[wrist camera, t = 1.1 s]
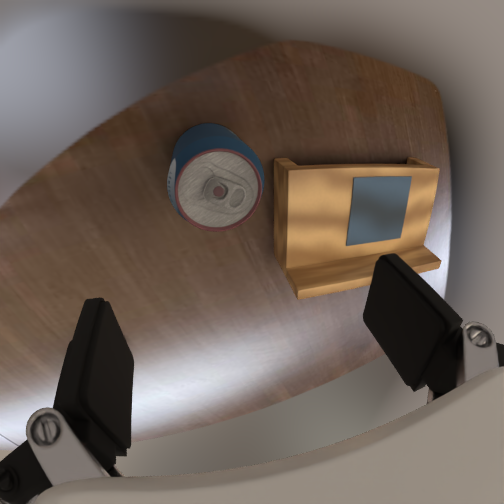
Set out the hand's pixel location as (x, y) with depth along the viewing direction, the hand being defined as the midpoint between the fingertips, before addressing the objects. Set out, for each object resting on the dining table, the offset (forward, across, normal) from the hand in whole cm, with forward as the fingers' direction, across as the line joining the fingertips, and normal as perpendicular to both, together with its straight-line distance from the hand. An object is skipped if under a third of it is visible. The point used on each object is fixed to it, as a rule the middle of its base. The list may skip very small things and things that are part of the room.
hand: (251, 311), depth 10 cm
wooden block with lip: (+23, -17, +6) cm, 29 cm away
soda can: (+23, 0, 0) cm, 23 cm away
